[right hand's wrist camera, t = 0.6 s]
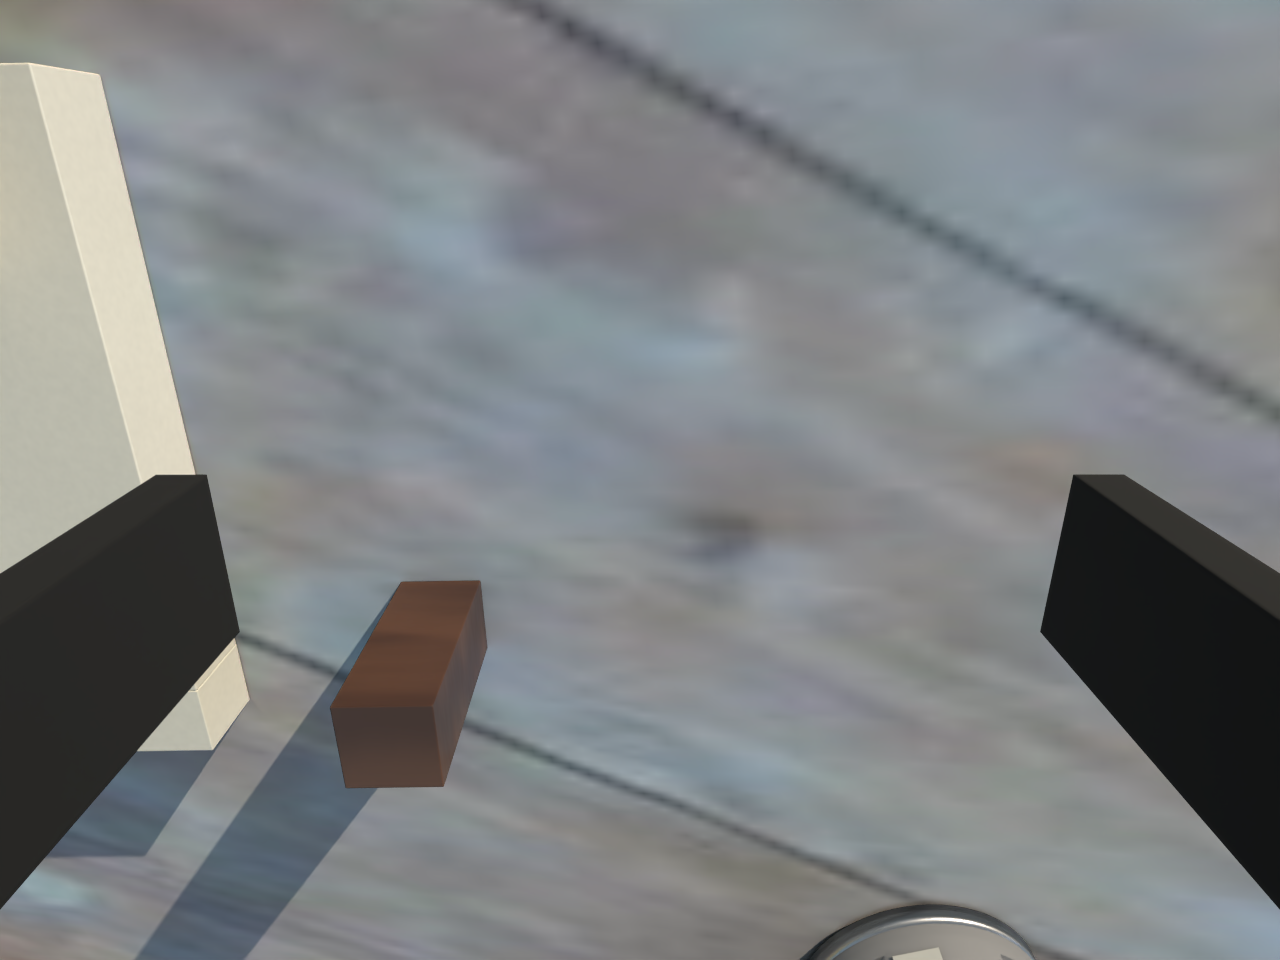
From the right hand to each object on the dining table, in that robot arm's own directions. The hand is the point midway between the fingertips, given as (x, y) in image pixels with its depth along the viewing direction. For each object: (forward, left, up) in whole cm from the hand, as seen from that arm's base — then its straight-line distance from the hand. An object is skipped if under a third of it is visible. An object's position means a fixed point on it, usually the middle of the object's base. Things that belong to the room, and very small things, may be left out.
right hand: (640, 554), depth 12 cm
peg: (-16, +10, -24) cm, 31 cm away
